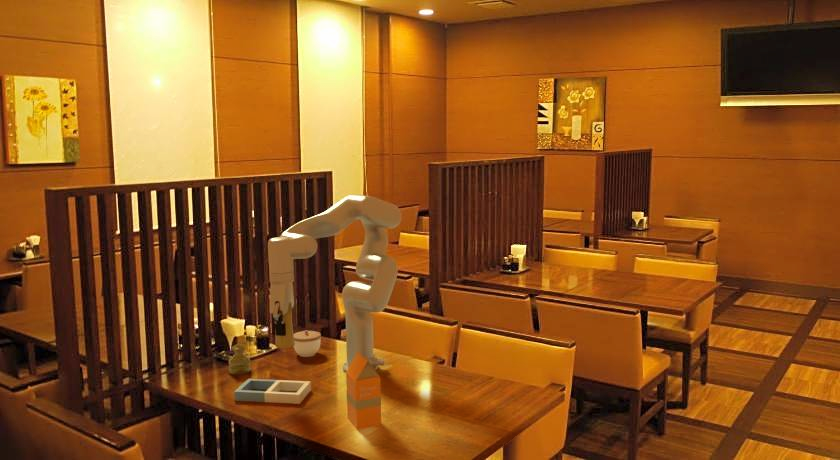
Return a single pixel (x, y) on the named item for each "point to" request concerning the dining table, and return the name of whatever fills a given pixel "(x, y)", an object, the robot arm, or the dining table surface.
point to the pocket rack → (273, 391)
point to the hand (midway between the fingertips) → (284, 331)
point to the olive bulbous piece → (239, 361)
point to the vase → (288, 339)
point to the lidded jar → (307, 343)
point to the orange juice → (363, 394)
